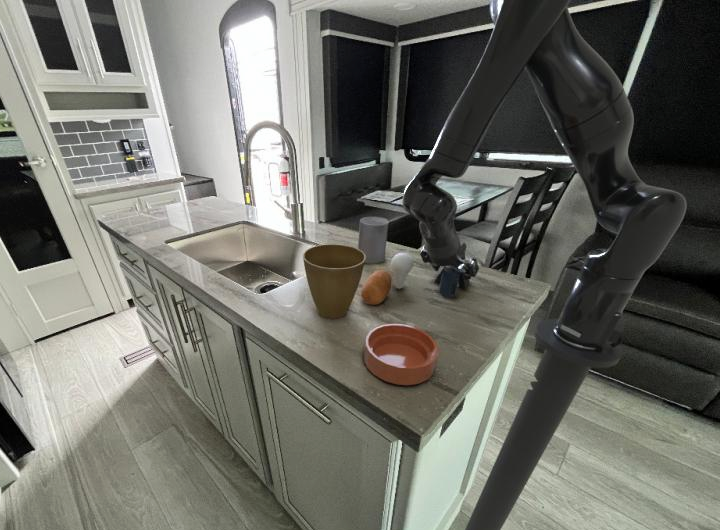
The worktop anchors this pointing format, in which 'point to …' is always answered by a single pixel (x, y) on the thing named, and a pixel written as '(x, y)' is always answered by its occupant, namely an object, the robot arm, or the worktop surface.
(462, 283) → the phone stand
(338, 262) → the plant pot
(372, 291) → the potato
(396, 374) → the bowl
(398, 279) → the lightbulb
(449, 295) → the vaping device
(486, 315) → the worktop surface
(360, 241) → the pillar candle
